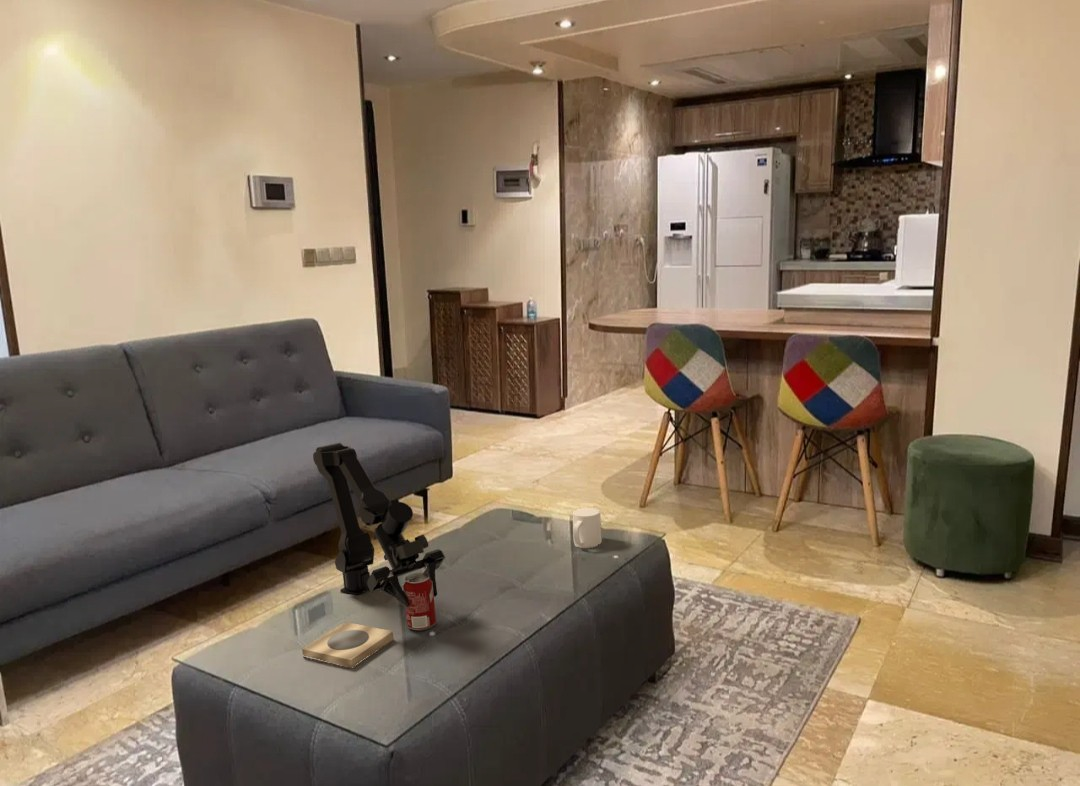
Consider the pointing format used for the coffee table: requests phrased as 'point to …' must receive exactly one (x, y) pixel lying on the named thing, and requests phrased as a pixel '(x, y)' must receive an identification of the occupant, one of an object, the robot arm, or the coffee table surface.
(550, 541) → the coffee table surface
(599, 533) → the mug
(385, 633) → the base slab
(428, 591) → the soda can
